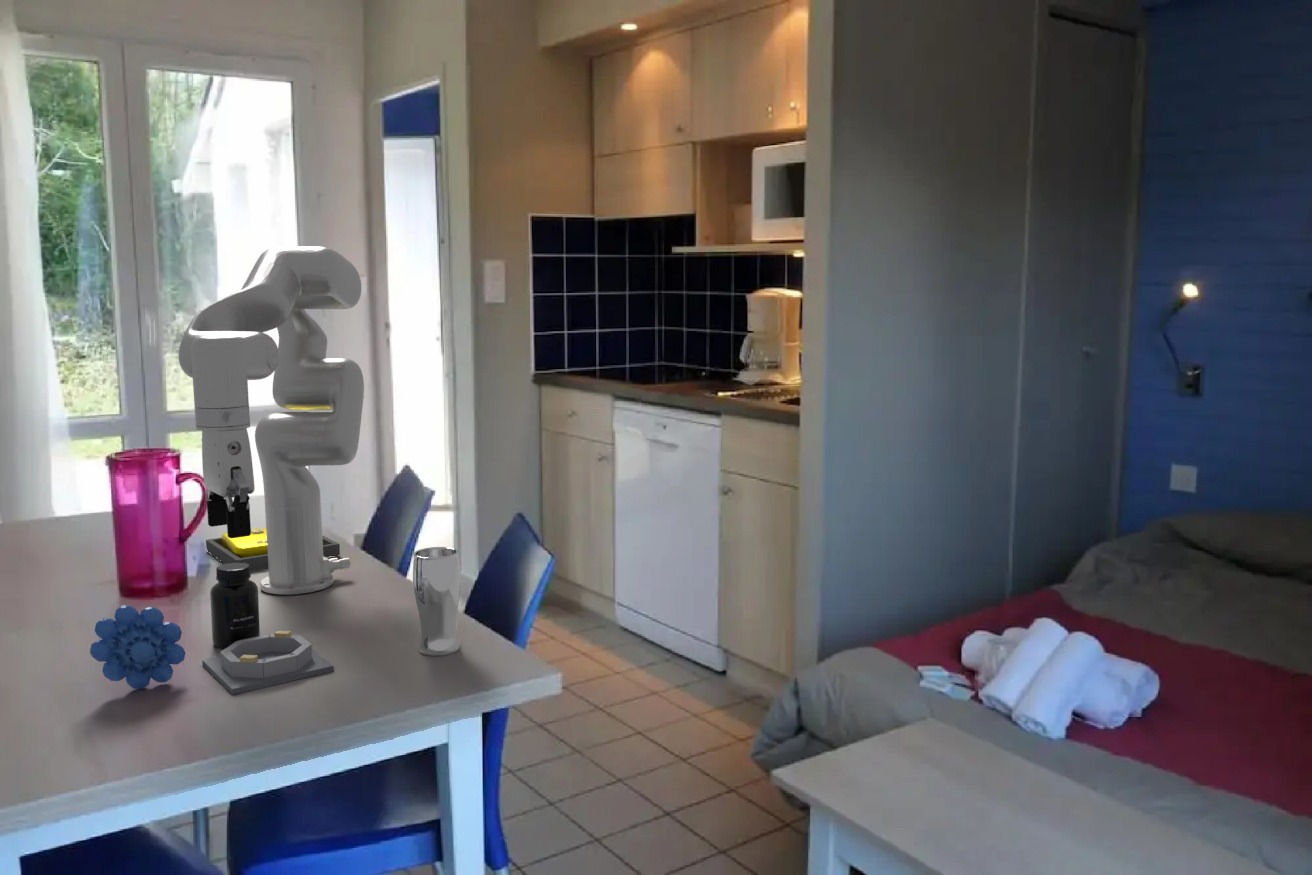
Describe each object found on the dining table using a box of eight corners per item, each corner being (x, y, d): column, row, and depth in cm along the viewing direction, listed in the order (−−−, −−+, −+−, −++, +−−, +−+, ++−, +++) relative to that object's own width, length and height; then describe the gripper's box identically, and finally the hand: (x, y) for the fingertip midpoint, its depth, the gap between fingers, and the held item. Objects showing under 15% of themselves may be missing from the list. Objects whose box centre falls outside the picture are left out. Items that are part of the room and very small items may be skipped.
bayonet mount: (298, 644, 164) (297, 621, 163) (333, 671, 153) (332, 646, 152) (202, 665, 155) (200, 641, 155) (232, 694, 144) (231, 669, 144)
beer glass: (422, 660, 157) (419, 560, 155) (410, 645, 163) (406, 549, 161) (468, 652, 160) (465, 554, 158) (454, 638, 166) (452, 544, 164)
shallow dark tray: (303, 536, 230) (303, 525, 230) (339, 556, 215) (339, 543, 214) (206, 551, 218) (205, 539, 218) (237, 573, 203) (236, 560, 202)
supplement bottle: (244, 651, 161) (239, 573, 159) (203, 648, 162) (198, 571, 160) (269, 636, 168) (265, 561, 166) (230, 633, 169) (225, 559, 167)
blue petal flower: (99, 708, 140) (91, 620, 138) (91, 692, 145) (83, 606, 143) (194, 688, 146) (188, 604, 145) (183, 674, 152) (177, 591, 150)
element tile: (237, 570, 206) (235, 546, 205) (221, 553, 219) (219, 530, 218) (316, 559, 214) (314, 535, 213) (296, 543, 227) (295, 521, 226)
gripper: (267, 422, 155) (273, 537, 158) (230, 411, 169) (236, 517, 171) (213, 426, 151) (220, 545, 153) (180, 414, 164) (187, 524, 166)
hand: (229, 530), depth 162 cm, fingers open, 9 cm apart
